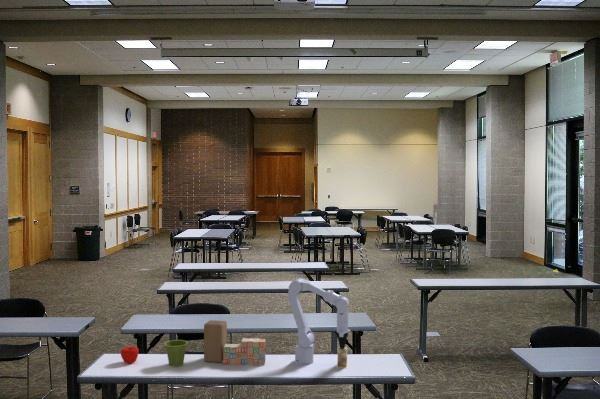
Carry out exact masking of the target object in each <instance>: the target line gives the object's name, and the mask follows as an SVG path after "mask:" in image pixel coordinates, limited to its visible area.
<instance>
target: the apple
mask: <svg viewBox="0 0 600 399" xmlns="http://www.w3.org/2000/svg"><path fill="white" fill-rule="evenodd" d="M138 356H139V348H138V347H137V346H126V347H123V348H121V350H120V358H121V359H122V361H123V362H124V363H125V364H133V363H135V362H136V361H137V359H138Z"/></svg>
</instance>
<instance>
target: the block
mask: <svg viewBox="0 0 600 399" xmlns="http://www.w3.org/2000/svg"><path fill="white" fill-rule="evenodd" d="M227 333H228V324H227V321H226V320H215V319H211V320H210V319H209V320H208V321H207V322H206V323H205V324H204V325H203V362H208V363H222V362H224V346H225V344H228V339H227V338H228V334H227Z"/></svg>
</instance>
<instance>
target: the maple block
mask: <svg viewBox="0 0 600 399" xmlns="http://www.w3.org/2000/svg"><path fill="white" fill-rule="evenodd" d="M338 358H347V359H348V346H345V347H344V349H343V348H340V346H338V347H337V359H338Z"/></svg>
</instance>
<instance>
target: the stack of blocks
mask: <svg viewBox="0 0 600 399" xmlns="http://www.w3.org/2000/svg"><path fill="white" fill-rule="evenodd" d="M266 343H267V342H266V338H244V337H243V338H242V339H241V341H240V343H227V344H225V346H224V360H223V365H231V366H233V365H234V366H235V365H237V366H238V365H239V366H240V365H243V366H246V365H247V366H265V364H266V351H267V350H266V346H267V345H266Z"/></svg>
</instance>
